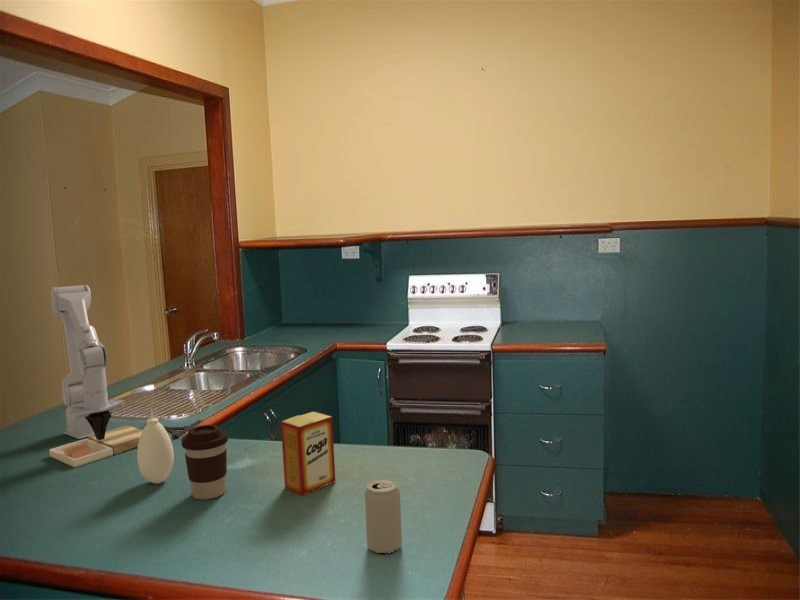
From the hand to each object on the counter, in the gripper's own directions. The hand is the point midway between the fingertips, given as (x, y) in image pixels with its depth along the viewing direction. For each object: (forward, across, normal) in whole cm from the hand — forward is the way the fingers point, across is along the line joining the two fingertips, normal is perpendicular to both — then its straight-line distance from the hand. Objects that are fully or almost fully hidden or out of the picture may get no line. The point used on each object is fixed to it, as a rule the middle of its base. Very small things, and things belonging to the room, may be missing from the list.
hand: (100, 438), depth 174 cm
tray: (+3, -5, 0) cm, 6 cm away
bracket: (+4, +20, 0) cm, 21 cm away
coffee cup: (+3, 0, -50) cm, 50 cm away
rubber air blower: (+3, -4, -34) cm, 34 cm away
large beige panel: (+3, +6, 0) cm, 6 cm away
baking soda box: (+3, +16, -66) cm, 68 cm away
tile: (0, -6, 0) cm, 6 cm away
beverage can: (+3, +4, -98) cm, 98 cm away
